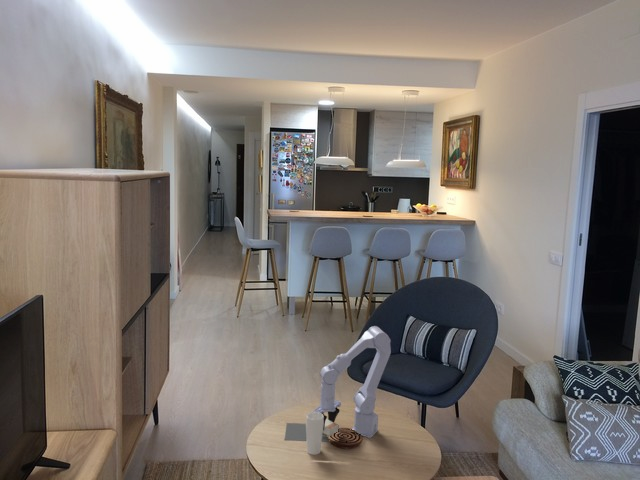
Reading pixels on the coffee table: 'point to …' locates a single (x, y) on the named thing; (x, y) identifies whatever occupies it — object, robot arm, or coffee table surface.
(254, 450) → the coffee table surface
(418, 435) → the coffee table surface
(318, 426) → the white cylinder
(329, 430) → the card box
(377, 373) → the robot arm
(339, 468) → the coffee table surface
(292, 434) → the mat
